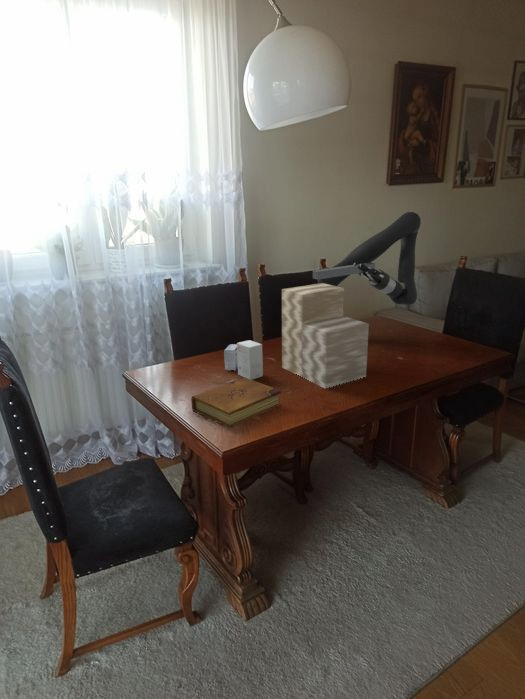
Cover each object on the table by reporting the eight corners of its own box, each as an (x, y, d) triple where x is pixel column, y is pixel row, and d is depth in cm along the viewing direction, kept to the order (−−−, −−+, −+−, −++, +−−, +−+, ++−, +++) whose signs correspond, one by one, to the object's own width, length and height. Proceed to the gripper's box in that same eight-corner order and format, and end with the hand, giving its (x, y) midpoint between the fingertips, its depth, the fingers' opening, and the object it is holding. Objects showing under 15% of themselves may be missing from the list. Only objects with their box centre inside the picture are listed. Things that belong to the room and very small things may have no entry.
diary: (243, 391, 182) (242, 376, 180) (280, 406, 169) (280, 390, 168) (192, 411, 166) (191, 394, 165) (229, 429, 154) (229, 411, 152)
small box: (263, 376, 194) (262, 344, 190) (250, 380, 190) (249, 347, 186) (250, 370, 200) (249, 339, 196) (237, 374, 196) (236, 342, 192)
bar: (312, 278, 193) (312, 270, 192) (369, 269, 208) (369, 262, 207) (317, 279, 191) (317, 271, 190) (374, 270, 206) (375, 263, 205)
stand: (282, 367, 203) (281, 289, 193) (320, 358, 213) (322, 283, 203) (325, 388, 181) (327, 301, 171) (366, 377, 192) (370, 294, 182)
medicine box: (235, 371, 200) (234, 350, 197) (224, 370, 201) (223, 349, 198) (240, 364, 207) (239, 344, 205) (229, 363, 208) (229, 343, 206)
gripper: (374, 271, 218) (348, 254, 207) (398, 276, 207) (373, 258, 196) (367, 287, 218) (341, 271, 208) (391, 292, 207) (365, 276, 196)
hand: (357, 265), depth 202 cm, fingers closed on bar, 3 cm apart
